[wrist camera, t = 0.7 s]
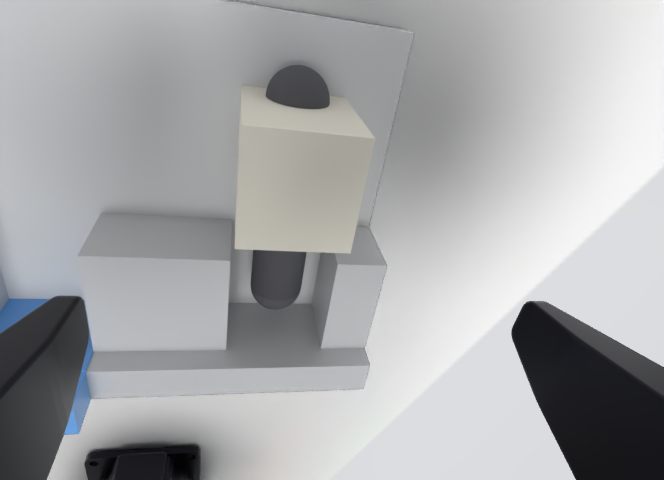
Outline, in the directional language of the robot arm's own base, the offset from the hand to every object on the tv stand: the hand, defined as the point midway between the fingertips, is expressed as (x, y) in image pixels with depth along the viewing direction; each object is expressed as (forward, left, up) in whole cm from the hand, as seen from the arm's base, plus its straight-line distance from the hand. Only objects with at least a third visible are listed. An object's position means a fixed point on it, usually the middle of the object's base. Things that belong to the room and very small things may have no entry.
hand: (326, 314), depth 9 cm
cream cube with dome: (-2, 0, -10) cm, 10 cm away
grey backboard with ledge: (-2, +5, -11) cm, 12 cm away
